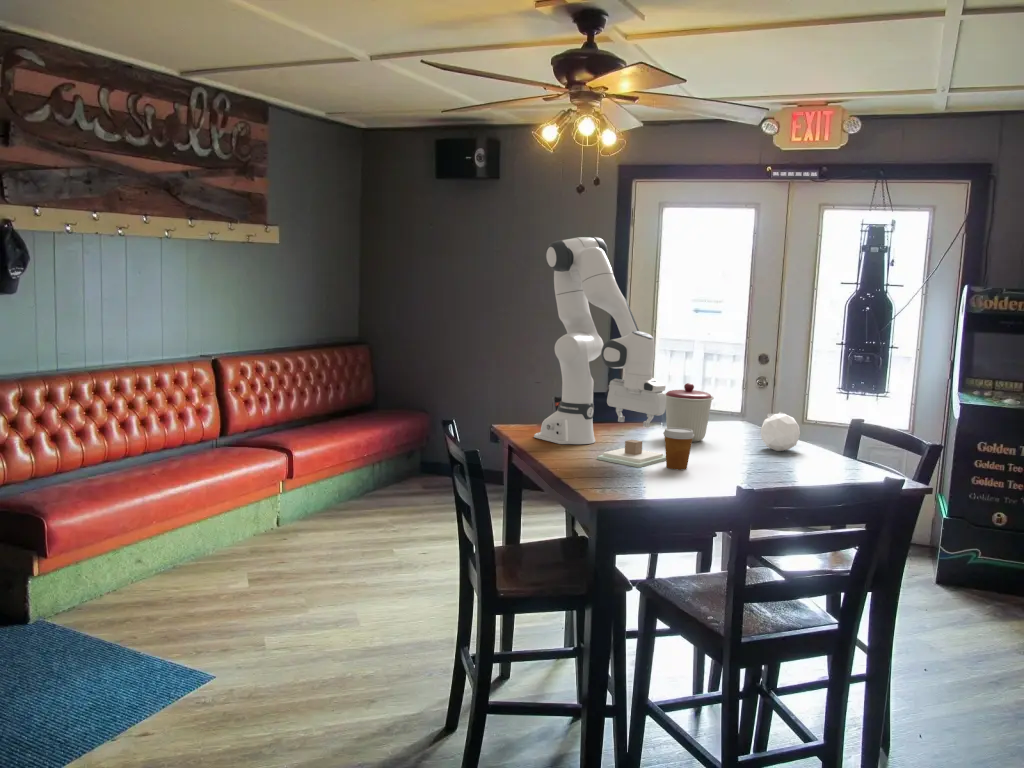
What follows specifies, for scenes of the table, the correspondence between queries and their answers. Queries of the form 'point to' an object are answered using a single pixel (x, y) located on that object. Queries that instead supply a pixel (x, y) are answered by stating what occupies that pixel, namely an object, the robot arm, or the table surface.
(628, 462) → the mat
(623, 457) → the cover
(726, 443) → the table surface
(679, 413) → the canister
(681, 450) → the disposable coffee cup
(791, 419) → the geodesic sphere
